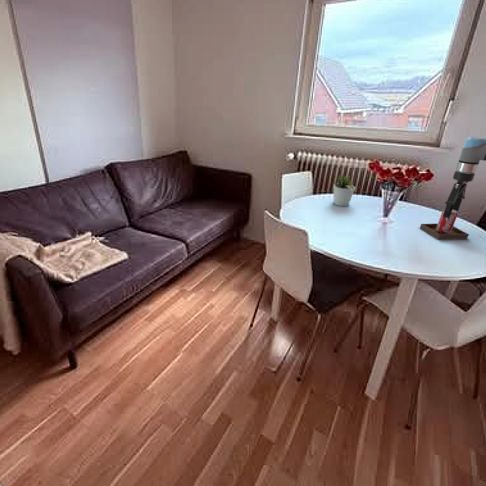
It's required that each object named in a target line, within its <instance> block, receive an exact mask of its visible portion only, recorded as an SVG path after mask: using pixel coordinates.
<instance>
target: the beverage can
mask: <svg viewBox="0 0 486 486" xmlns="http://www.w3.org/2000/svg"><path fill="white" fill-rule="evenodd" d="M444 211H445V209H444V210H442V211H441V214H440V216H439V220H438V221H437V222H438V223H437V224H438V225H437V228H436V230H437V231H438V232H439V233H442V234H449V233H451V231H452V228H453V226H454V225H455V222H456V220H457V217H458V212H457V211H455V210H452V212H451V215H450V218H447V217H443V214H444Z"/></svg>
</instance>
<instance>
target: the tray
mask: <svg viewBox="0 0 486 486" xmlns="http://www.w3.org/2000/svg"><path fill="white" fill-rule="evenodd" d="M437 225H438V223H420V226H419V229H420V230H422V231H423V232H425V233H426V234H428V235H430V236H431V237H433V238H435V239H436V240H438V241H439V240H467V239H468V238H469V235H470V234H469V233H467V232H465V231H464V230H462V229H460V228H458V227H456V226H454V225H453V228H452V231H451V233H449V234H442V233H439V232H438V231H437V230H436V228H437Z"/></svg>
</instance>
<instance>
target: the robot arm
mask: <svg viewBox="0 0 486 486" xmlns="http://www.w3.org/2000/svg"><path fill="white" fill-rule="evenodd" d="M459 155H460V156H459V158H458V162H457V163H456V164H455V165H456V167H455V171H454V173H453V176H452V179H453V180H455V181H456V183H453V185H452V189H451V192H450V193H449V196H448V198H447V199H446V201H445V202H444V205H445V207H444V208H445V209H444V210H445V211H444V210H443V211H444V214H443V217H447V218H450V215H451V212H452V210H455V211H457V213H458V212H459V211H460V207H461V204H462V201H463V200H465V198H466V197H465V196H466V191H467V187H468V183H470V182H472V181H474V179H475V175H476V174H475V173H476V172H477V171H478V168H479V165H480V161H482V162H483V161H486V138H485V137H479V136H470V137H467V138H466V139H465V141H464V144H463V147H462V149H461V152H460V154H459Z"/></svg>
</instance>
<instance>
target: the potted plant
mask: <svg viewBox="0 0 486 486" xmlns="http://www.w3.org/2000/svg"><path fill="white" fill-rule="evenodd" d="M350 177H351V175H350V174H349V175H348V176H347V175H345V174H340V175H338V178H337V177H336V179H337V180H336V183H335V182H333V181H331V183H332V185H333V204H334V205H336V206H340V207H347V206H349V204H350V202H351V200H352V197H353V195H354V192H355V191H356V186H354V184H355V182H354V181H351V179H350Z"/></svg>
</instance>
